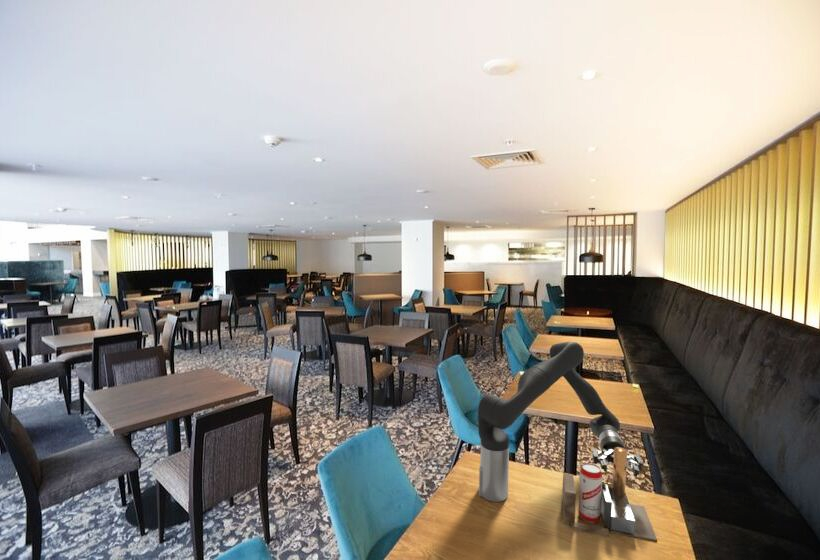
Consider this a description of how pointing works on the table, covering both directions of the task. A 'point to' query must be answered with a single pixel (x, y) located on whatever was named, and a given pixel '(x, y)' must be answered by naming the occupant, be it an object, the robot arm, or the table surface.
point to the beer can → (590, 493)
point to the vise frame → (641, 527)
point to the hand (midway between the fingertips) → (620, 471)
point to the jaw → (617, 497)
